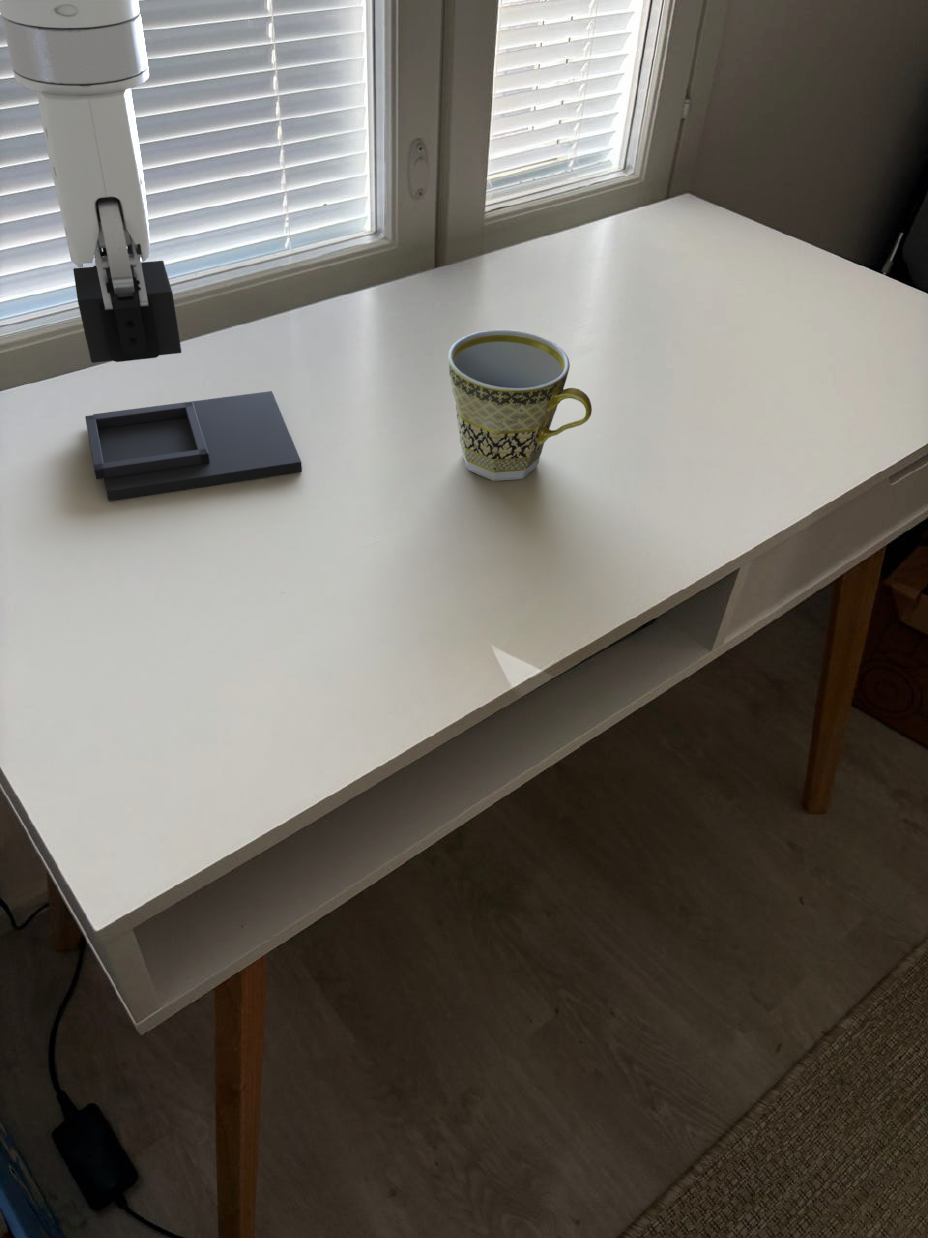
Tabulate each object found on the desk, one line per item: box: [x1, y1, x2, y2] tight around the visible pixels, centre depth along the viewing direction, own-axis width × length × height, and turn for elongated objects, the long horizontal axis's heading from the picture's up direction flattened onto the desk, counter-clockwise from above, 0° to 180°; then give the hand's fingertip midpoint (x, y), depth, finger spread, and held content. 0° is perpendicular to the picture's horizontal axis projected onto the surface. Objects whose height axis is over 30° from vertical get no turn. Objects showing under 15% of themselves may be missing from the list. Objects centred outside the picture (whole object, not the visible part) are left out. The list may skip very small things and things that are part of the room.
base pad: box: [84, 390, 303, 502], centre depth 88 cm, size 17×12×2 cm
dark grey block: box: [72, 260, 182, 364], centre depth 69 cm, size 6×5×4 cm
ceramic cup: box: [447, 329, 593, 482], centre depth 86 cm, size 13×10×10 cm
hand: (131, 335), depth 71 cm, fingers closed on dark grey block, 5 cm apart
